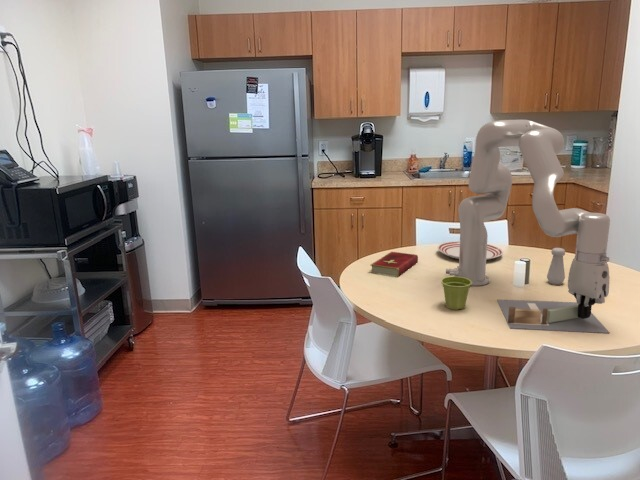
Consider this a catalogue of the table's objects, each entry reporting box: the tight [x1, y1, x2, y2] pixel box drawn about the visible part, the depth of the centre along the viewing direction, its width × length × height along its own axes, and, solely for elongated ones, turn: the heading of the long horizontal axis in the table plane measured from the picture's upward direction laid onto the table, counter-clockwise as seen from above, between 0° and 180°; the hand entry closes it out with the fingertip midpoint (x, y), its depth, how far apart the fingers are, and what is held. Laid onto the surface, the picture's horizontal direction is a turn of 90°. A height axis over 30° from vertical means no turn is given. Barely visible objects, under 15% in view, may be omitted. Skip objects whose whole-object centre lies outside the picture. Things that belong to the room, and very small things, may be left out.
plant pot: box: [440, 275, 472, 311], centre depth 151 cm, size 9×9×9 cm
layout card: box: [496, 298, 610, 334], centre depth 143 cm, size 26×22×1 cm
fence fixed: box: [508, 307, 548, 324], centre depth 137 cm, size 10×2×5 cm, turn 79°
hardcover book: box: [370, 251, 419, 278], centre depth 192 cm, size 12×21×4 cm, turn 148°
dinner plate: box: [437, 240, 504, 261], centre depth 206 cm, size 27×27×3 cm
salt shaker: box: [546, 247, 566, 286], centre depth 168 cm, size 6×6×13 cm
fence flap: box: [546, 305, 579, 323], centre depth 138 cm, size 14×1×4 cm, turn 107°
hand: (583, 317), depth 137 cm, fingers closed
